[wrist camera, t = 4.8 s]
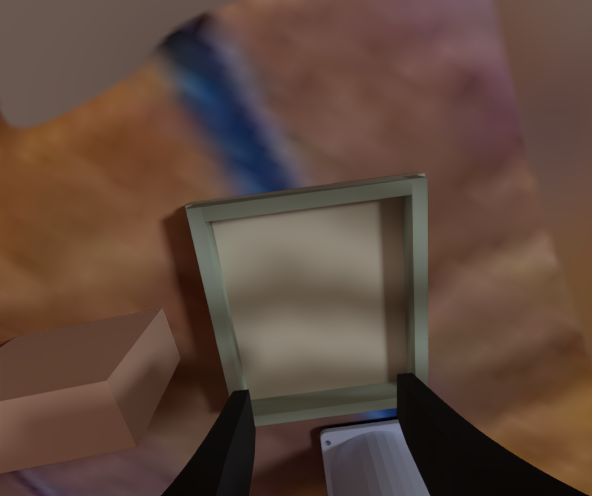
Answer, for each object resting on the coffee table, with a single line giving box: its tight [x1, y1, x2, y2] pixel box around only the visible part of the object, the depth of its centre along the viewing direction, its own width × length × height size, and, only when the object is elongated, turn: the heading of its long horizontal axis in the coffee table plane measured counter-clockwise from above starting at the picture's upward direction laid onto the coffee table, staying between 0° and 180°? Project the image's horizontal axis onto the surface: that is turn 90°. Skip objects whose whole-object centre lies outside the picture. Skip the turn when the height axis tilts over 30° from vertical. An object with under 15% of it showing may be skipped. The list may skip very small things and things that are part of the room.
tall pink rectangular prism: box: [0, 308, 181, 473], centre depth 18 cm, size 4×10×7 cm, turn 101°
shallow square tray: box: [185, 172, 428, 426], centre depth 20 cm, size 15×14×2 cm
